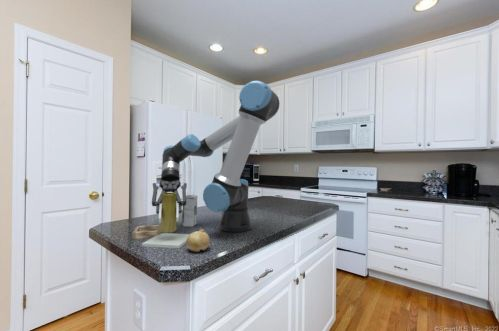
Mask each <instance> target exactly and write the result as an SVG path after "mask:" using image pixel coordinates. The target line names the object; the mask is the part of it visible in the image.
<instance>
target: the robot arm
mask: <svg viewBox="0 0 499 331" xmlns="http://www.w3.org/2000/svg"><path fill="white" fill-rule="evenodd" d="M238 99H239V104H240V106H239V110H238V114H239V115H238V116H237V117H236V118H234V119H232V120H230V121H229V122H228V123H226V124H225V125H223V126H221V127H220V128H219V129H217V130H215V131H213V133H211V134H209V135H208V136H206V137H204V138H203V139H202V140H199V138H198V137H197V136H196V135H195V134H192V133H190V134H188V135H186V136H185V137H183V138H182V139H180V140H179V141H178V142H177V143H175V145H172V144H171V145H168V146H165V148H163V152H162V155H161V156H162V158H161V160H162V161H161V162H162V163H161V174H160V176H161V177H160V181H159V182H158V183H155V182H153V183H152V188H153V190H152V197H151V206H152V207H155V213H156V215H158V223H160V224H161V216H162V193H176V194H177V195H176V222H179V214H181V213H182V211H183V205H186V195H187V188H188V187H187V186H188V184H187V182H183V183H181V181H180V180H181V179H180V174H181V173H180V170H181V169H180V168H181V166H180V163H182V162H183V161H184V160H185V159H187V158H188V157H189V156H191V157H200V158H201V157H202V158H209V157H210V156H212V155H213V154H214V153H215V151H216V150H218V149H219V148H220V147H222V146H224V145H225V144H228V143H229V142H230V145H229V147H228V149H227V152H226V154H225V157H224V161H223V162H222V165H221V168H220V169H219V172H218V173H215V174H214V176H213V177H212V178H213V179H212V180H211V181H212V182H211V183H209V184H208V185H206V186H205V188H204V190H203V193H202V200H203V202H204V204H205V206H206V207H207V208H208V209H209V210H210V211H212V212H215V213H219V212H222V215H221V218H220V221H219V225H218V226H219V227H218V228H219V229H220V230H221V231H223V232H229V233H230V232H231V233H238V232H239V233H240V232H247V231H250V230H252V227H253V226H252V221H251V220H252V219H251V218H250V214H249V181H248V180H246V179H244V178H241V176H242V173H243V171H244V168H245V167H246V166H245V165H246V163H247V160H248V158H249V155H250V153H251V151H252V148H253V146H254V142H255V140H256V137H257V135H258V132H259V129H260V127H261V125H263V124H265V123H266V122H267V121H270V119H272V118H274V116H276V114H277V113H278V112H279V110H280V98H279V97H278V95H277V93H275V91H273V90H272V88H270V86H269V85H268V84H267V83H265V82H263V81H261V80H251V81H249V82H248V83H247V82H246V84H244V86H243V87H241V89H240V91H239V96H238ZM159 188H161V192H160V194H159V197H157V196H158V190H159ZM179 188H181V190H182V199H181V196H180V194H179V191H178V189H179ZM157 198H158V199H157Z"/></svg>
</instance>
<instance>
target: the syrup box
mask: <svg viewBox="0 0 499 331" xmlns="http://www.w3.org/2000/svg"><path fill="white" fill-rule="evenodd" d="M181 213H182V218H181V219H182V220H181V222H182V223H181V226H182V227H183V228H184V227H187V228H188V227H191V228H192V227H193V228H194V227H195V226H196V225H197V224H198V223H197V222H198V220H197V219H198V195H194V194H186V205H183V206H182V212H181Z"/></svg>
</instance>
